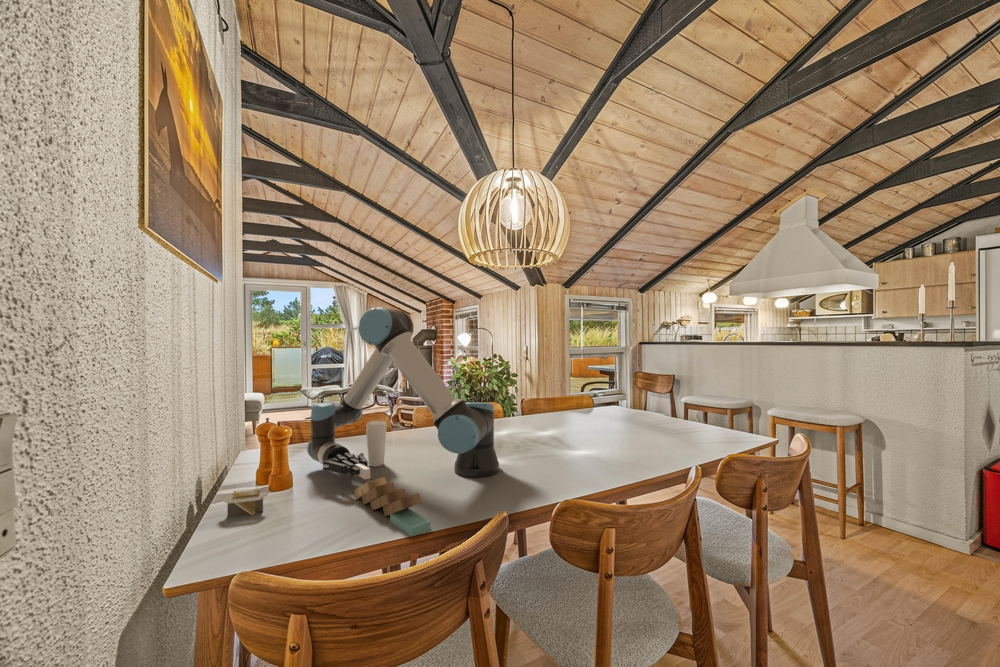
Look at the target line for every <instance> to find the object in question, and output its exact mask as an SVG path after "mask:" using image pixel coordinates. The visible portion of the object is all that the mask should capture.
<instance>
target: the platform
mask: <svg viewBox="0 0 1000 667" xmlns="http://www.w3.org/2000/svg"><path fill="white" fill-rule="evenodd" d="M268 495H269V491H263V492H260V487H258V488H257V487H256V488H252V490H251V488H249V489H248V488H247V489H246V491H245V489H239V490H237V489H236V490H234V491H233V492H232V495H226V496H224V497H223V498H222V502H224V503H226V504H227V517H231V516H237V515H247V514H250V515H251V516H255V514H257V513H262V512H264V498H265V497H268Z"/></svg>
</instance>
